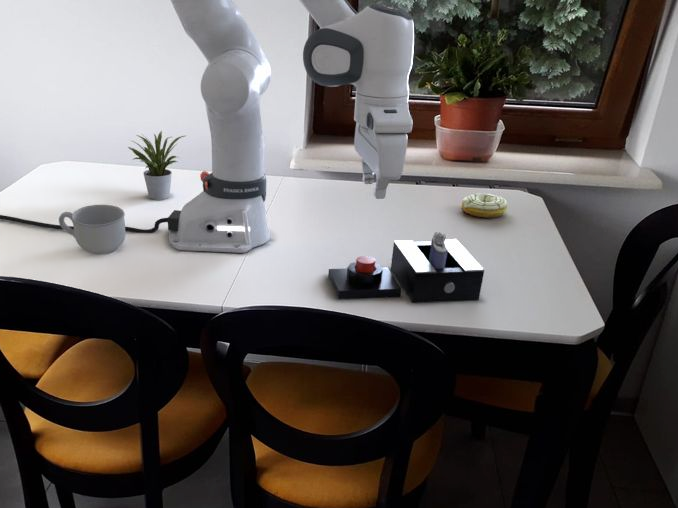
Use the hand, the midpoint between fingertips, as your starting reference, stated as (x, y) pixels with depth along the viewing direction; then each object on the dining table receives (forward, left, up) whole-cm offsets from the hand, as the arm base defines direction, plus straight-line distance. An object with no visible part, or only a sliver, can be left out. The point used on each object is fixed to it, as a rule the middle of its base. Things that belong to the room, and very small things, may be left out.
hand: (373, 190), depth 127 cm
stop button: (0, 0, -16) cm, 16 cm away
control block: (0, 0, -19) cm, 19 cm away
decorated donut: (+40, +39, -20) cm, 59 cm away
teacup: (-53, +23, -20) cm, 61 cm away
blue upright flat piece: (+14, 0, -20) cm, 24 cm away
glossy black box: (+14, 0, -19) cm, 24 cm away
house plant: (-39, +57, -20) cm, 72 cm away
